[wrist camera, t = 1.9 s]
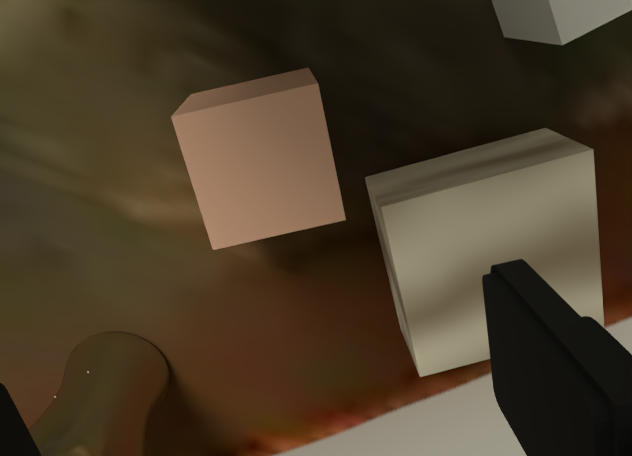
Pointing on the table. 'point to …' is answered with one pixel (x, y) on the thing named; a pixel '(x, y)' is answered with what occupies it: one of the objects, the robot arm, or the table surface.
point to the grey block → (555, 18)
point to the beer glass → (104, 399)
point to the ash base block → (485, 237)
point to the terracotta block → (260, 158)
